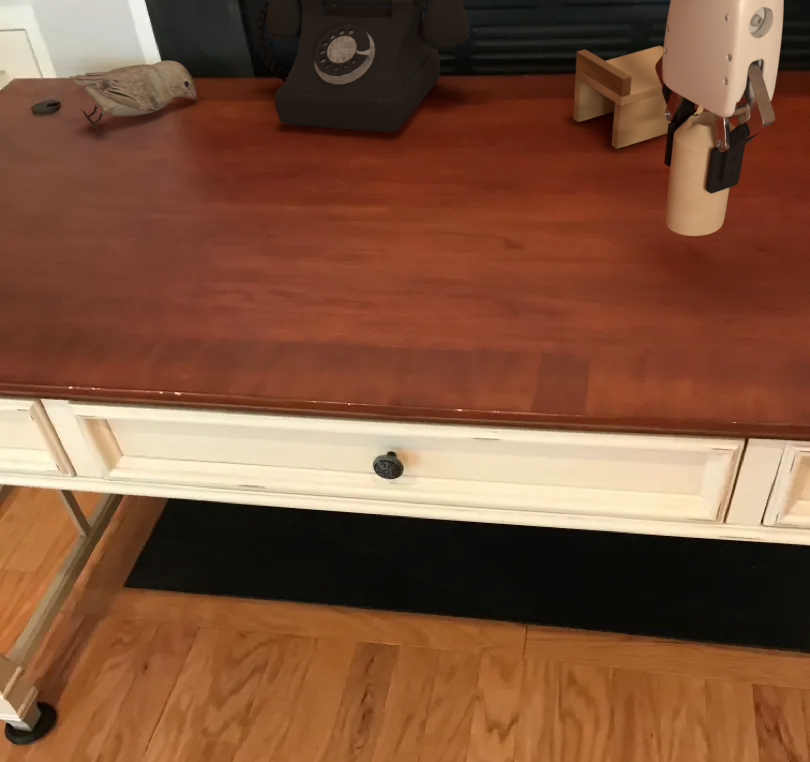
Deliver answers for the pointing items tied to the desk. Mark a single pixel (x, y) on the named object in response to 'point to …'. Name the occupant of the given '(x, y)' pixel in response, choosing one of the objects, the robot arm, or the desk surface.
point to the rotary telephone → (359, 58)
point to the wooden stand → (622, 94)
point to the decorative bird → (137, 88)
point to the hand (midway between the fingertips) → (700, 172)
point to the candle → (694, 180)
